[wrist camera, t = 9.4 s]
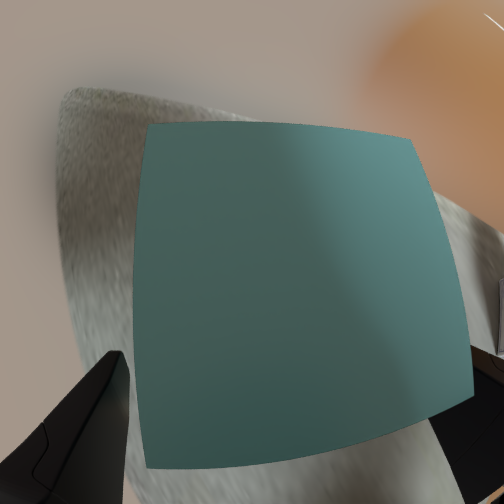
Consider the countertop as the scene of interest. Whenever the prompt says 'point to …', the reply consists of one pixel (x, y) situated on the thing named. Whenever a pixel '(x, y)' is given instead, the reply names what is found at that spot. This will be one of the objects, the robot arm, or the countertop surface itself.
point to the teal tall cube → (288, 293)
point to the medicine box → (501, 320)
